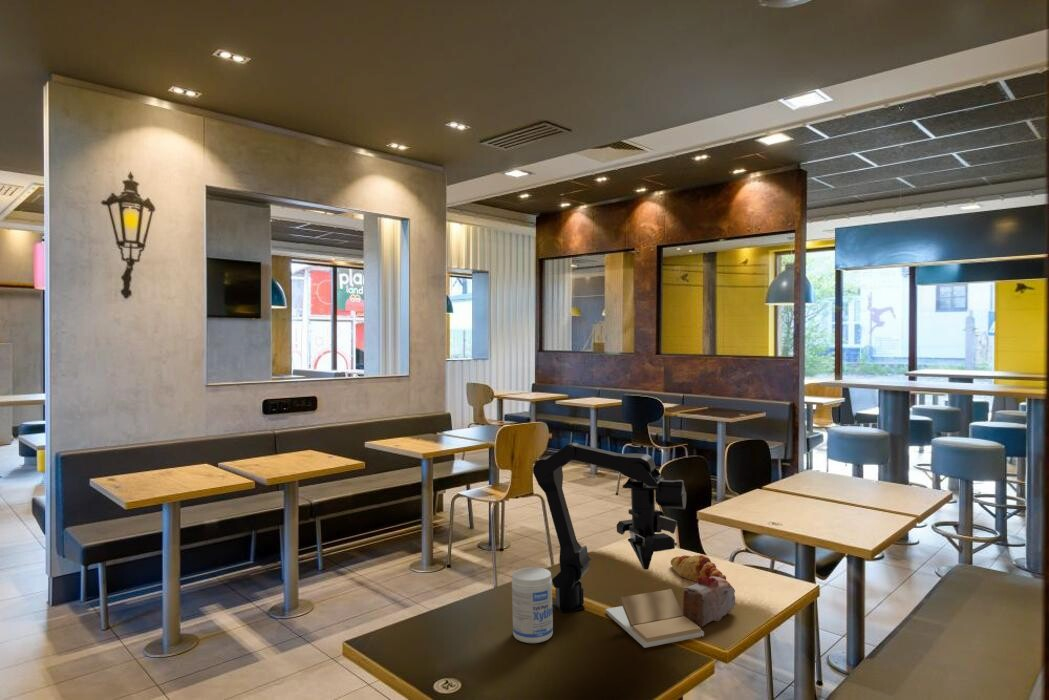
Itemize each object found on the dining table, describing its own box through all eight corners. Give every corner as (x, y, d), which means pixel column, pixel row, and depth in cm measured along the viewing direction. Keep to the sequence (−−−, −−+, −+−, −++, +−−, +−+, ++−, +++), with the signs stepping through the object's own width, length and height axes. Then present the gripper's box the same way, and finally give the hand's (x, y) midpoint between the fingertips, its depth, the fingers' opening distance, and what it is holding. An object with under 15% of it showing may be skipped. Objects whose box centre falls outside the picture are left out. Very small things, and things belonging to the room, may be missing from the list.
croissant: (665, 579, 191) (654, 558, 189) (685, 558, 196) (675, 537, 194) (719, 601, 173) (709, 578, 171) (740, 577, 178) (730, 554, 176)
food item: (710, 604, 164) (709, 566, 164) (738, 613, 158) (737, 574, 158) (679, 620, 155) (678, 580, 155) (708, 630, 149) (707, 589, 149)
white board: (644, 647, 141) (644, 638, 141) (605, 612, 160) (605, 605, 160) (704, 636, 146) (703, 627, 146) (659, 603, 165) (659, 595, 165)
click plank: (630, 626, 149) (631, 624, 148) (619, 599, 154) (621, 597, 153) (682, 617, 153) (683, 615, 152) (670, 591, 158) (671, 588, 158)
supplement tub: (541, 648, 142) (539, 583, 142) (505, 639, 147) (503, 577, 147) (560, 631, 151) (558, 569, 150) (525, 623, 155) (524, 564, 155)
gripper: (692, 510, 150) (695, 576, 150) (651, 494, 168) (654, 553, 168) (652, 516, 146) (654, 583, 146) (614, 499, 164) (616, 559, 164)
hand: (645, 569), depth 156 cm, fingers closed
